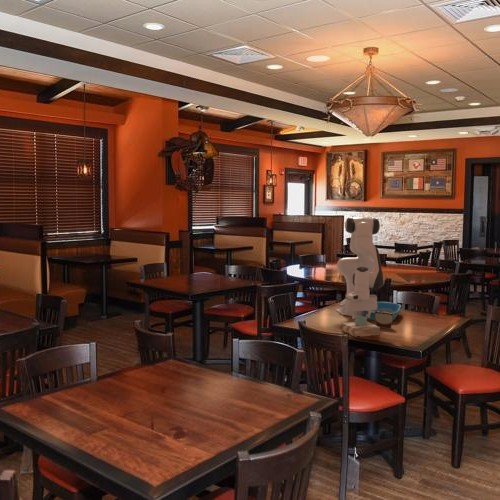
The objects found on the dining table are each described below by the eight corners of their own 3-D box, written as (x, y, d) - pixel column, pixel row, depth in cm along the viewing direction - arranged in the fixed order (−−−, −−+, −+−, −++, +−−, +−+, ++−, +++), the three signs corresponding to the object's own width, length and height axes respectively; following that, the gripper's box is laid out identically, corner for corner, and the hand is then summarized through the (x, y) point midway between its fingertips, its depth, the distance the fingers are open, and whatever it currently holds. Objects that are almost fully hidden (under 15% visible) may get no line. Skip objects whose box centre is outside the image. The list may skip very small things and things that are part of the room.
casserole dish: (395, 324, 350) (396, 313, 349) (360, 321, 358) (360, 310, 357) (402, 313, 384) (403, 303, 383) (370, 310, 392) (370, 300, 391)
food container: (396, 327, 342) (396, 311, 341) (393, 329, 337) (393, 312, 336) (376, 324, 348) (377, 308, 347) (373, 326, 343) (374, 310, 342)
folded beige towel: (341, 331, 333) (342, 322, 332) (365, 329, 338) (365, 321, 337) (355, 337, 318) (355, 329, 317) (379, 335, 323) (379, 327, 322)
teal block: (354, 324, 329) (355, 316, 328) (362, 323, 331) (362, 315, 330) (359, 326, 324) (359, 317, 324) (366, 325, 326) (367, 317, 325)
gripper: (374, 293, 332) (373, 315, 333) (343, 295, 325) (343, 318, 327) (379, 295, 326) (379, 318, 327) (349, 297, 319) (348, 320, 321)
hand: (360, 318), depth 327 cm, fingers open, 8 cm apart
